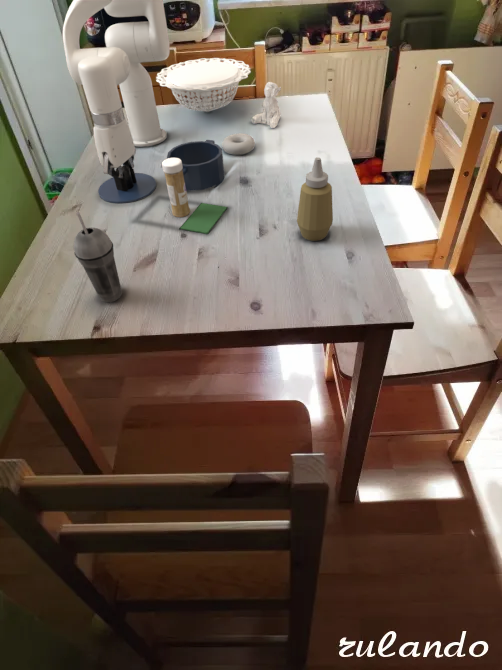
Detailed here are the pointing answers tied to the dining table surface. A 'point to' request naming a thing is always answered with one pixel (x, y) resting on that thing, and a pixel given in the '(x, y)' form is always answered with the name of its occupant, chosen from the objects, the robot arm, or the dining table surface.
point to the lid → (135, 190)
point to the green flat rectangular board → (203, 218)
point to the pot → (200, 164)
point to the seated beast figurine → (269, 107)
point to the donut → (238, 144)
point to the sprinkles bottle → (176, 186)
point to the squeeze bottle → (315, 204)
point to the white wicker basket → (204, 81)
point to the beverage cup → (98, 261)
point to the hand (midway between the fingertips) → (127, 185)
